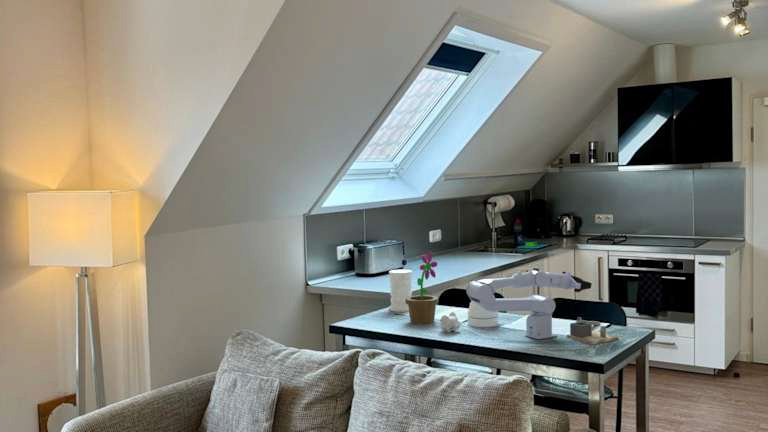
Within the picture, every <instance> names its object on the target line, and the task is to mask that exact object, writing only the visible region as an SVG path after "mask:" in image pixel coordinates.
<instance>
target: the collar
mask: <svg viewBox="0 0 768 432" xmlns="http://www.w3.org/2000/svg"><path fill="white" fill-rule="evenodd" d="M592 326H593V325H592V324H589V323H585V322H576V321H575V322H570V325H569V327H570V328H569V331H570V333H569V334H570V335H573V336H576V337H580V338H582V337H588V336H592V331H593V329H592V328H593V327H592Z"/></svg>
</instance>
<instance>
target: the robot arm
mask: <svg viewBox="0 0 768 432" xmlns="http://www.w3.org/2000/svg"><path fill="white" fill-rule="evenodd" d="M478 282H480V283H478ZM592 285H593V283H592V282H589V281H587V280H584V279H582V278H580V277H578V276H575V275H571V272H570V271H568V270H566V271H562V273H560V272H549V271H546V272H545V271H538V270H533V269H529V270H528V271H527V272H526V271H525V272H522V271H516V273H513V274H512V275H511V277H510V276H508V277H498V278H496V277H495V278H485V279H479V280H477V281H475V280H473V281H470V282H469V283H468V284H467V286H466V288H465V291H466V295H467V296H468V298H469V299H470V301H474V302H475V303H477V304H478V305H480V306H481V307H482V308H484V309H485V310H487V311H491V312H496V311H498V312H532V314H531V315H528V316H527V317H526V322H525V323H526V333H525V336H526V337H529V338H533V339H536V340H541V339H548V338H549V339H550V338H553V337H558V335H557V334H555V333H553V321H552V320H553V319H552V318H553V313H554V311H555V310H556V302H555V300H554V299H553V298H552V297H546V296H542V295H540V294H538V293H537V294H533V295H532V296H526V297H517V298H516V297H513V298H510V297H509V298H508V297H507V298H505V297H504V298H496V297H495V298H494V296H495V295H494V294H495V293H496V291H497V289H502V288H507V287H513V288H515V289H516V290H517V289H524V288H530V287H533V286H535V287H539V288H543V287H545V288H556V289H564V290H571V289H572V290H573V289H574V290H573V291H574V292H576V293H580V292H582V291H584V290H589V289H591V288H592Z"/></svg>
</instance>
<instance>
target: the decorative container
mask: <svg viewBox="0 0 768 432" xmlns="http://www.w3.org/2000/svg"><path fill="white" fill-rule="evenodd" d="M388 275H389V276H390V279H389V281H390V303H391V304H390V305H389V307H388V309H389V311H391V312H397V313H398V312H400V313H401V312H403V313H405V312H409V308H408V304H406V303H405V299H406V297H409V296H413V292H412V287H413V286H412V280H413V279H412V275H413V270H411V269H392V270H389V271H388Z"/></svg>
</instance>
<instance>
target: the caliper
mask: <svg viewBox="0 0 768 432" xmlns="http://www.w3.org/2000/svg"><path fill="white" fill-rule="evenodd" d="M575 322H585V323H589V324H592V326H598V324H599V325H601V322H600V321H596V320H585V319H582V317H579V316H577V319H576V320H575Z"/></svg>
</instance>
